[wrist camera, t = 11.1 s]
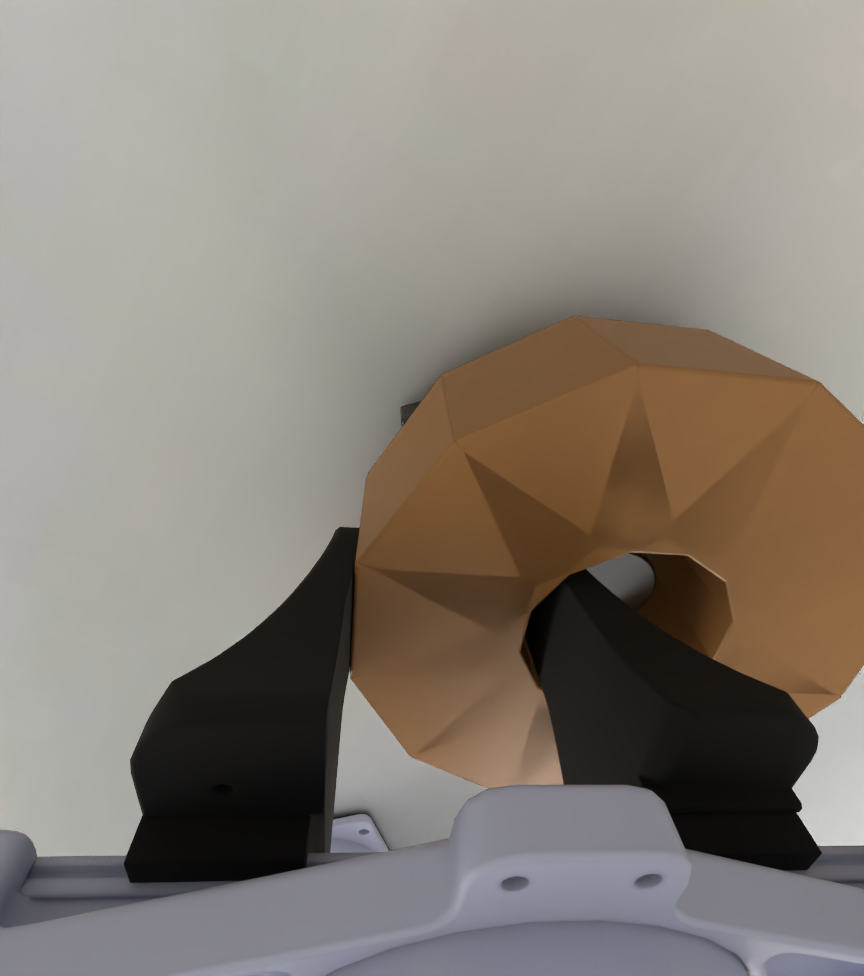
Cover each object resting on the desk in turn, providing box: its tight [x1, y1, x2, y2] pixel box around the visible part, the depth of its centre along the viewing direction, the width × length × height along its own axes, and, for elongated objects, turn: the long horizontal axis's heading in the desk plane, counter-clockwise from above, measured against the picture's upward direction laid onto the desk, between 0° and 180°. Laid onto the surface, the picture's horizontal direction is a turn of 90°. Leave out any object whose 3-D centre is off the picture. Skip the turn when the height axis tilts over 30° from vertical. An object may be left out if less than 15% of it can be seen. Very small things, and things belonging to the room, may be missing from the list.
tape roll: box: [350, 316, 864, 789], centre depth 14 cm, size 13×13×4 cm
